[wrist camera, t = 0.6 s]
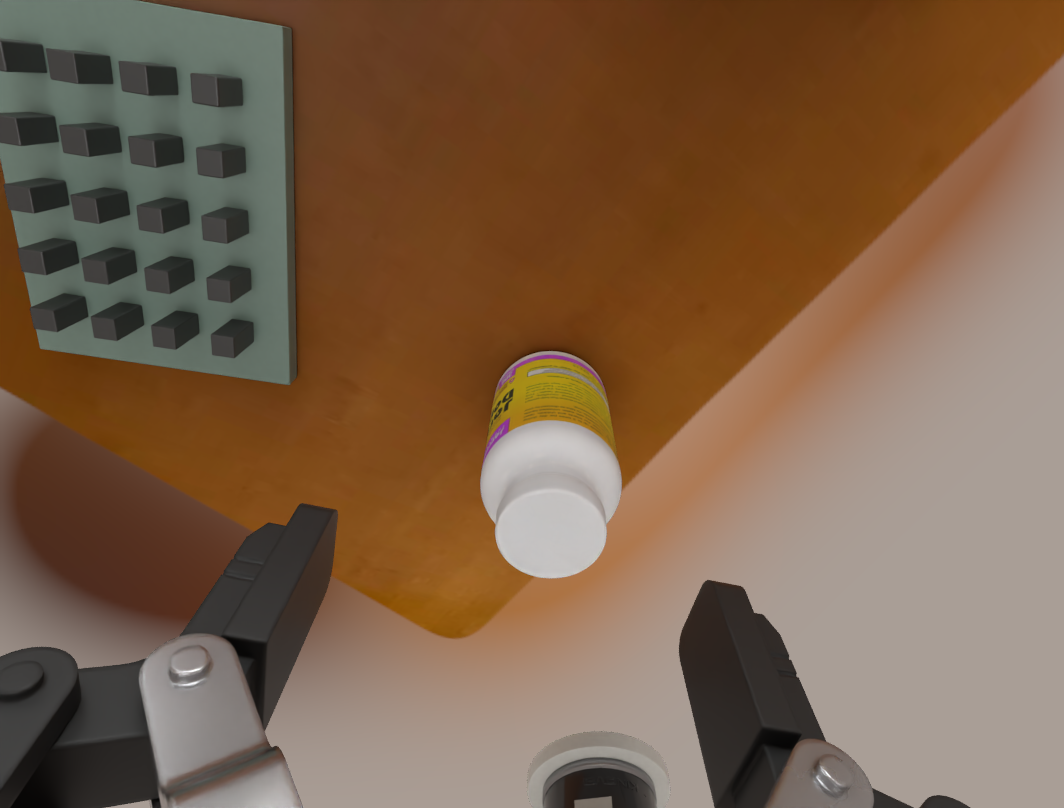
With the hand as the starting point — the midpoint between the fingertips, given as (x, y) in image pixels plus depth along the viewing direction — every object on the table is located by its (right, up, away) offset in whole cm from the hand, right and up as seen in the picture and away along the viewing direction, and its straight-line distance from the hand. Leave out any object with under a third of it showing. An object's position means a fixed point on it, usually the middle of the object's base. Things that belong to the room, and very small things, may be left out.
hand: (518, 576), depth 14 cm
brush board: (-19, +14, +19) cm, 31 cm away
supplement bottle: (+1, +4, +24) cm, 25 cm away
